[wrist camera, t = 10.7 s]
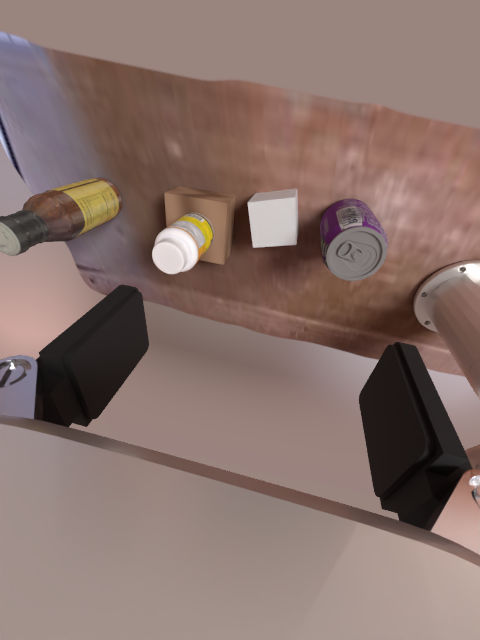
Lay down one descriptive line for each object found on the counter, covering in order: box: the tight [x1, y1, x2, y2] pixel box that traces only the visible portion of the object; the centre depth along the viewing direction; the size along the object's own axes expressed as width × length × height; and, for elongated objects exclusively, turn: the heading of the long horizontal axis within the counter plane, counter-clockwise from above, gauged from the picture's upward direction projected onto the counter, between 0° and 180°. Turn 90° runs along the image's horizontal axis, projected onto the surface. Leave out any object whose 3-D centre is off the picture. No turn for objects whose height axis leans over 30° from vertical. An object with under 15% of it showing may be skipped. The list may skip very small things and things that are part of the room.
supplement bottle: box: [152, 213, 214, 274], centre depth 35 cm, size 6×6×10 cm
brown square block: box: [164, 186, 236, 264], centre depth 41 cm, size 9×9×5 cm
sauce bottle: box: [0, 178, 122, 256], centre depth 37 cm, size 6×6×20 cm
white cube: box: [248, 189, 298, 248], centre depth 38 cm, size 6×6×6 cm
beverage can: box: [320, 199, 388, 281], centre depth 34 cm, size 7×7×12 cm
